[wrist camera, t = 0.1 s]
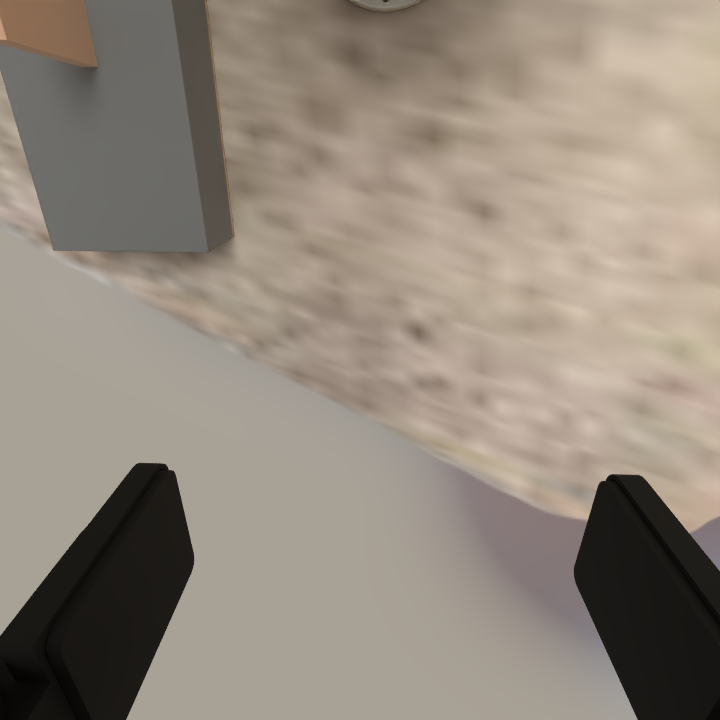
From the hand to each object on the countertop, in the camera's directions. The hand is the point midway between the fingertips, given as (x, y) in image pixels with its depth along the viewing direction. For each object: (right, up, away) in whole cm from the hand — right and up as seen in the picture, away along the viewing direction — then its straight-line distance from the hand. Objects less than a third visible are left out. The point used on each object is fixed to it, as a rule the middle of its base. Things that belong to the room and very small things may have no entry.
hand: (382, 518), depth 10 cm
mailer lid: (-20, +23, +24) cm, 39 cm away
